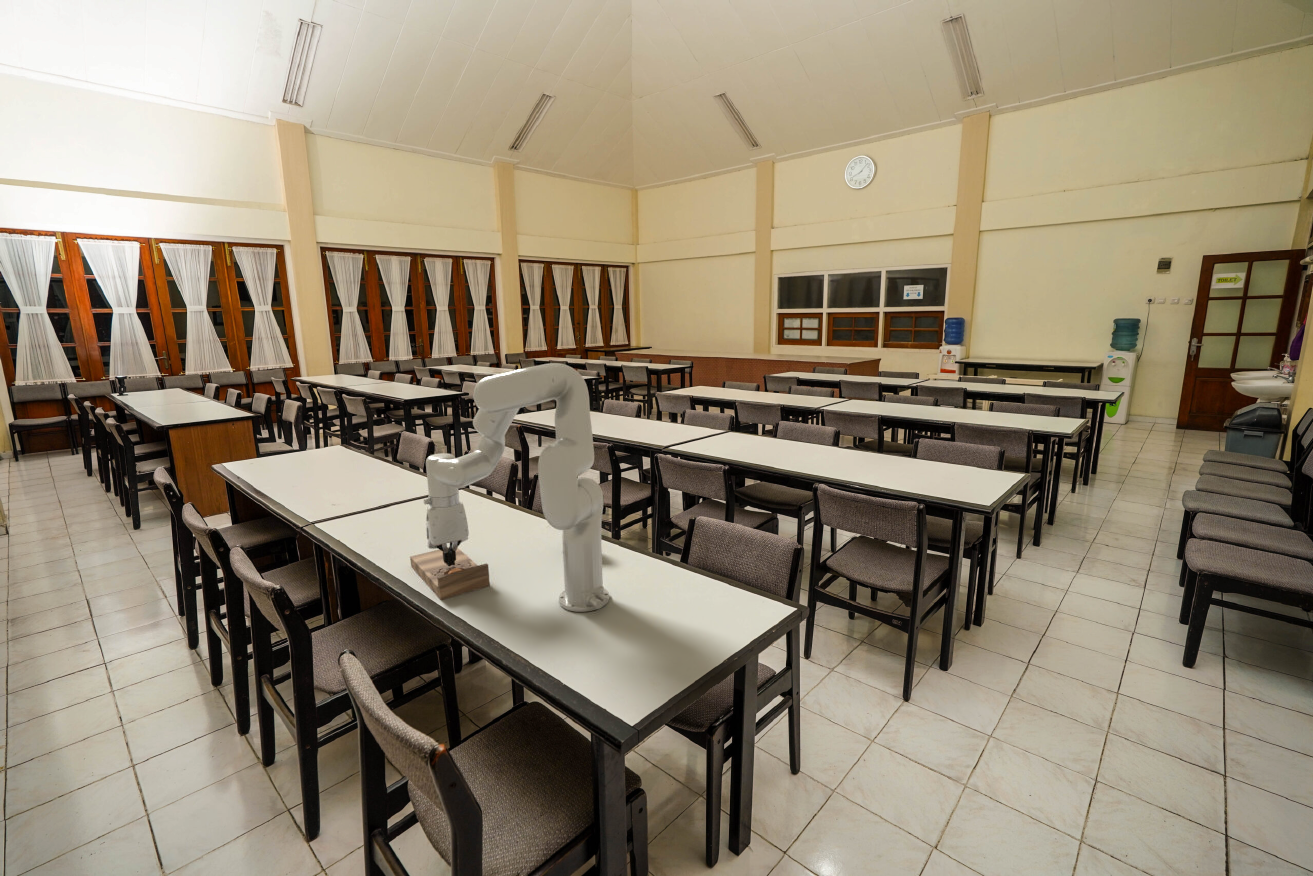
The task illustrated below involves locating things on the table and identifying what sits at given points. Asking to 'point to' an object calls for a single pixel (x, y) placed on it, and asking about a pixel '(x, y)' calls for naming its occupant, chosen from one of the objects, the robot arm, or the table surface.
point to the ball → (455, 570)
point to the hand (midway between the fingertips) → (450, 564)
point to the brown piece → (452, 583)
